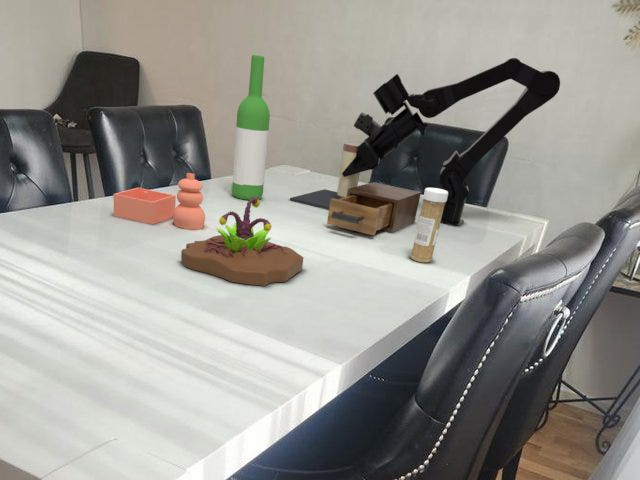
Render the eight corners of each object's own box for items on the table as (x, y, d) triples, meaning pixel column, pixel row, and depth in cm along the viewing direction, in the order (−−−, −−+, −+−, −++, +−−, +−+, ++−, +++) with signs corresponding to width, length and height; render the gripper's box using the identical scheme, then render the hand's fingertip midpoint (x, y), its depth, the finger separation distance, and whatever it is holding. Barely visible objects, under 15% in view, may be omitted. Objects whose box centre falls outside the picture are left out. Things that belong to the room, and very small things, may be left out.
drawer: (365, 238, 138) (370, 212, 135) (318, 226, 142) (322, 201, 139) (396, 225, 152) (401, 201, 149) (352, 214, 156) (356, 191, 153)
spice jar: (436, 262, 132) (453, 192, 124) (420, 263, 130) (437, 192, 122) (420, 255, 135) (437, 186, 127) (404, 257, 133) (420, 186, 125)
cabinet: (391, 233, 149) (398, 200, 145) (342, 220, 153) (347, 188, 149) (414, 222, 161) (421, 192, 157) (368, 211, 165) (373, 181, 161)
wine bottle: (261, 202, 159) (275, 58, 143) (230, 198, 159) (239, 53, 142) (262, 196, 166) (275, 57, 149) (232, 192, 165) (242, 52, 149)
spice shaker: (353, 194, 171) (361, 143, 164) (358, 198, 166) (367, 147, 160) (334, 192, 170) (341, 141, 163) (338, 197, 165) (346, 144, 159)
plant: (319, 269, 119) (328, 204, 112) (260, 292, 104) (267, 219, 98) (231, 243, 126) (235, 181, 120) (164, 261, 112) (165, 192, 106)
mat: (324, 191, 181) (324, 189, 180) (390, 206, 174) (390, 204, 173) (289, 200, 166) (290, 197, 165) (360, 217, 159) (361, 214, 158)
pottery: (113, 215, 133) (112, 163, 128) (137, 208, 141) (137, 158, 135) (192, 233, 129) (194, 180, 123) (212, 224, 136) (215, 174, 131)
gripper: (381, 99, 163) (331, 141, 170) (374, 103, 148) (319, 149, 155) (405, 138, 166) (355, 178, 174) (400, 147, 151) (346, 190, 159)
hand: (344, 173), depth 165 cm, fingers closed on spice shaker, 5 cm apart
